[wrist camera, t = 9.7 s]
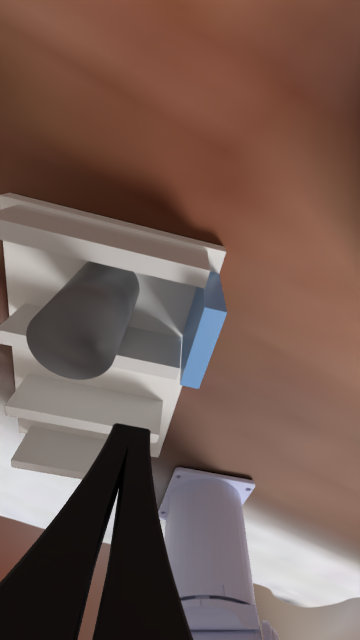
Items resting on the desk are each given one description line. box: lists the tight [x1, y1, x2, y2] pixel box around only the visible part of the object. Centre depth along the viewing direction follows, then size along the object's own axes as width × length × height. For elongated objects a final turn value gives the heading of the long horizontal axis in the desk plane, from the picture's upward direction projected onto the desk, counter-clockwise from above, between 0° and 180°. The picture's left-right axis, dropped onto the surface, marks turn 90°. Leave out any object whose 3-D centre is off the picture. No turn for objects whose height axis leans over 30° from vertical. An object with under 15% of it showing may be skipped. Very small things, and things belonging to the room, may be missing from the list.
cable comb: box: [0, 193, 227, 479], centre depth 18 cm, size 19×12×6 cm, turn 167°
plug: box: [26, 261, 140, 380], centre depth 14 cm, size 4×4×6 cm
